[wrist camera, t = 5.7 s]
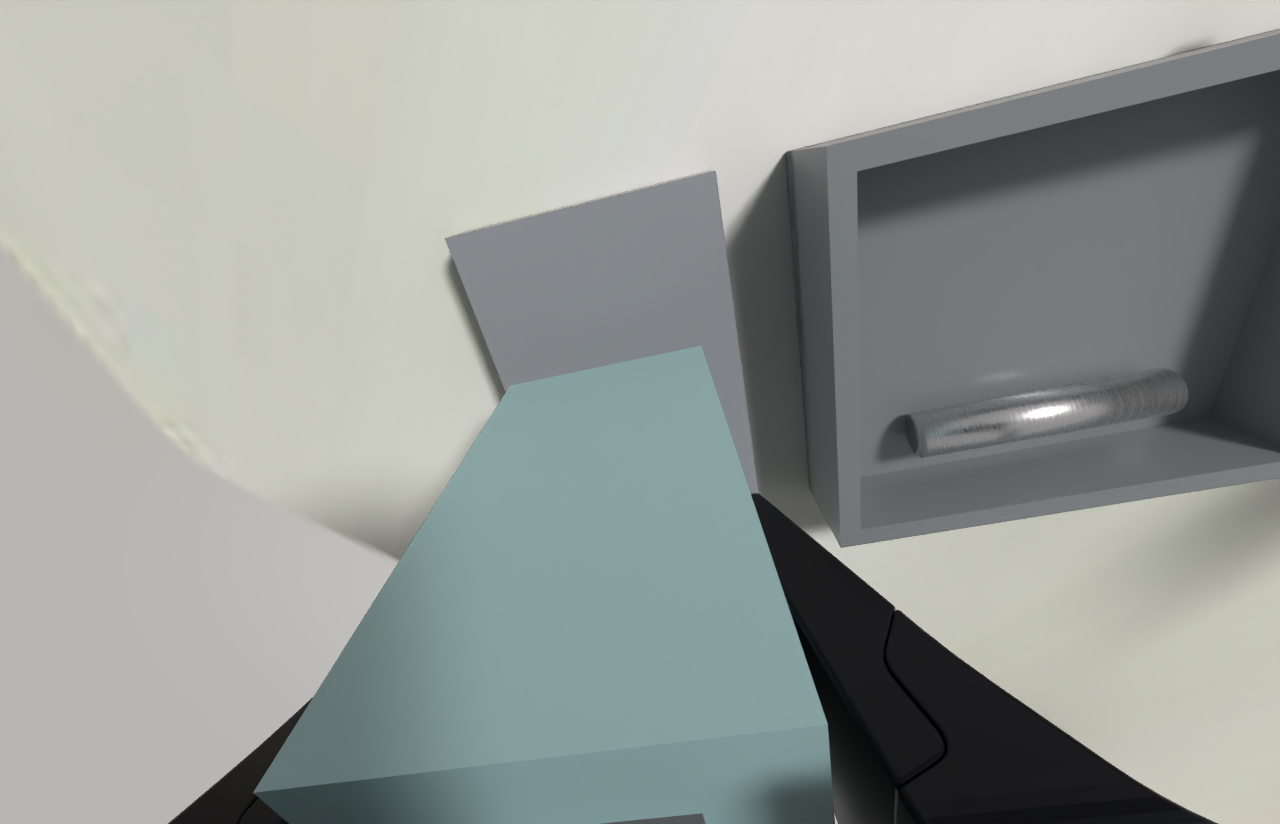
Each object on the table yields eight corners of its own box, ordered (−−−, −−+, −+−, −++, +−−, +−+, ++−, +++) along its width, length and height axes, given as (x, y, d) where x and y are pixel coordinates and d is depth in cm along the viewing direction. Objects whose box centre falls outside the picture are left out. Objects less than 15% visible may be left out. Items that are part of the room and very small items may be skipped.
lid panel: (754, 498, 17) (762, 519, 16) (572, 529, 18) (568, 552, 17) (709, 171, 12) (715, 170, 11) (461, 232, 13) (444, 238, 12)
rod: (1147, 415, 14) (1195, 412, 13) (911, 457, 15) (933, 458, 14) (1133, 371, 14) (1179, 363, 13) (901, 415, 15) (921, 411, 14)
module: (728, 503, 12) (875, 1076, 5) (566, 531, 13) (443, 1093, 5) (701, 345, 10) (879, 880, 3) (509, 385, 11) (161, 937, 3)
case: (1202, 420, 16) (1317, 471, 13) (809, 488, 17) (840, 547, 14) (1376, -48, 10) (1634, -125, 8) (782, 107, 12) (824, 87, 9)
